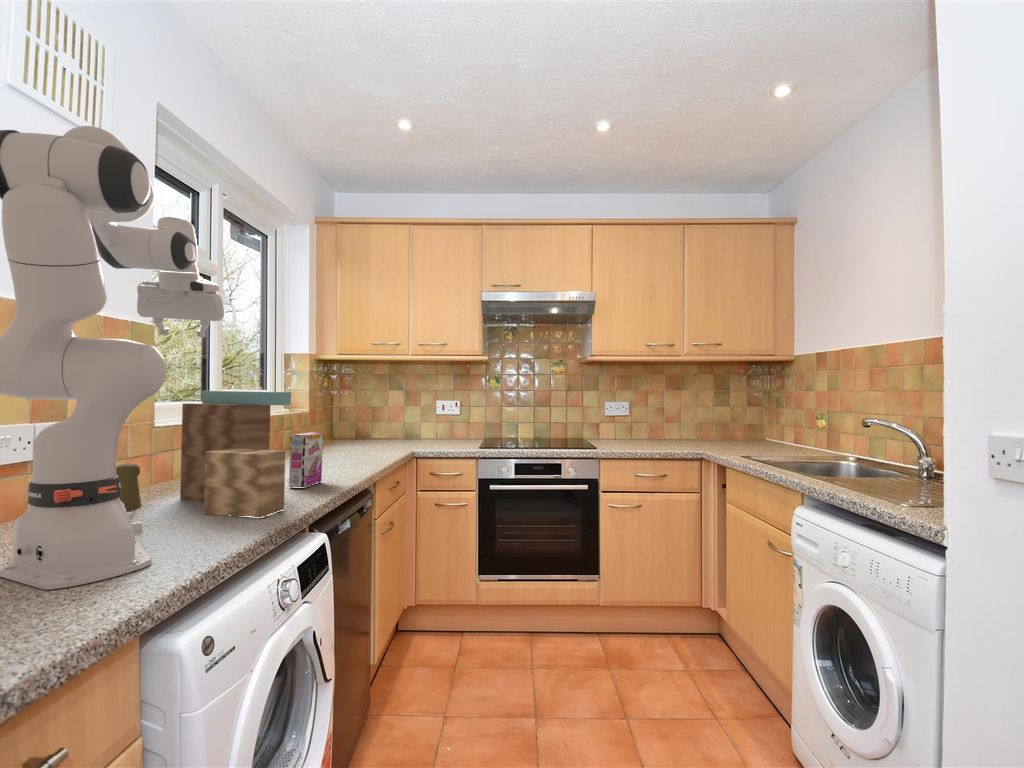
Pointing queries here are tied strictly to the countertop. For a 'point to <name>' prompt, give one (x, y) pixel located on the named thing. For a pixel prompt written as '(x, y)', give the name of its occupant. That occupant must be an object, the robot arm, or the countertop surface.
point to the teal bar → (246, 397)
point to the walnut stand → (217, 437)
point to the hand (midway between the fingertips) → (182, 336)
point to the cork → (129, 485)
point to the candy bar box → (305, 459)
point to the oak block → (244, 482)
